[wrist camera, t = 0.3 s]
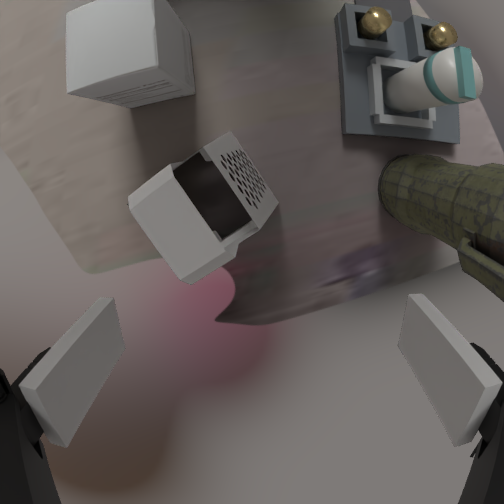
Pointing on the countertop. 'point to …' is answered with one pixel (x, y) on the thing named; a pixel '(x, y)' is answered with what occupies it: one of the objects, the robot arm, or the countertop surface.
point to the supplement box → (128, 52)
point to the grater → (198, 214)
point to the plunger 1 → (374, 23)
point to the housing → (377, 71)
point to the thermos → (452, 209)
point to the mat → (391, 7)
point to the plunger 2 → (440, 36)
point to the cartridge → (434, 82)
